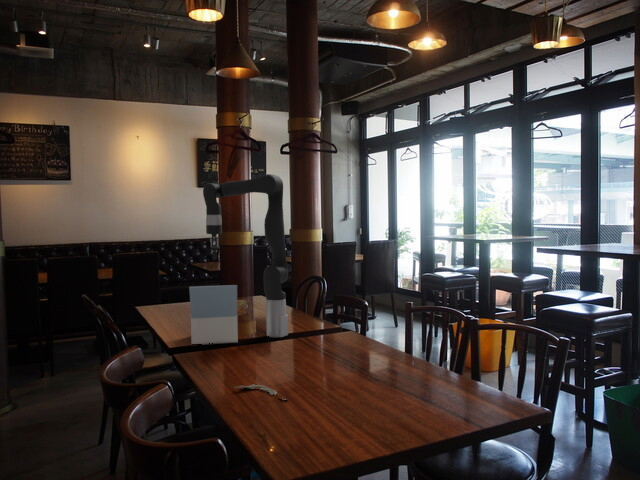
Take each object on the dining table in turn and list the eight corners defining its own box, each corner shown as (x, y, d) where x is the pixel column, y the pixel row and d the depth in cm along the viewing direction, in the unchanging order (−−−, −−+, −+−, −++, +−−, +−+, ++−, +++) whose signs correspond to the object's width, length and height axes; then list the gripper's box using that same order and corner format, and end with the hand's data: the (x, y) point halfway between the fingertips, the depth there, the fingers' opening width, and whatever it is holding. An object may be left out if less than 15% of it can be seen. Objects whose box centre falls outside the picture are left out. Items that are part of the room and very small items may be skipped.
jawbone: (250, 386, 168) (250, 380, 168) (302, 397, 159) (302, 390, 159) (233, 392, 161) (233, 385, 161) (286, 404, 151) (287, 397, 151)
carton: (193, 335, 237) (192, 310, 236) (236, 333, 241) (235, 308, 240) (191, 345, 219) (190, 317, 219) (237, 342, 223) (237, 315, 223)
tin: (230, 317, 279) (230, 302, 279) (226, 316, 281) (226, 302, 281) (249, 313, 291) (249, 298, 291) (245, 312, 293) (245, 298, 292)
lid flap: (189, 286, 208) (189, 287, 208) (237, 284, 212) (237, 285, 212) (191, 317, 219) (191, 318, 218) (236, 315, 223) (236, 316, 222)
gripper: (221, 224, 240) (222, 260, 241) (221, 224, 253) (222, 258, 254) (205, 224, 239) (206, 260, 239) (206, 224, 251) (207, 258, 252)
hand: (214, 259), depth 247 cm, fingers closed
